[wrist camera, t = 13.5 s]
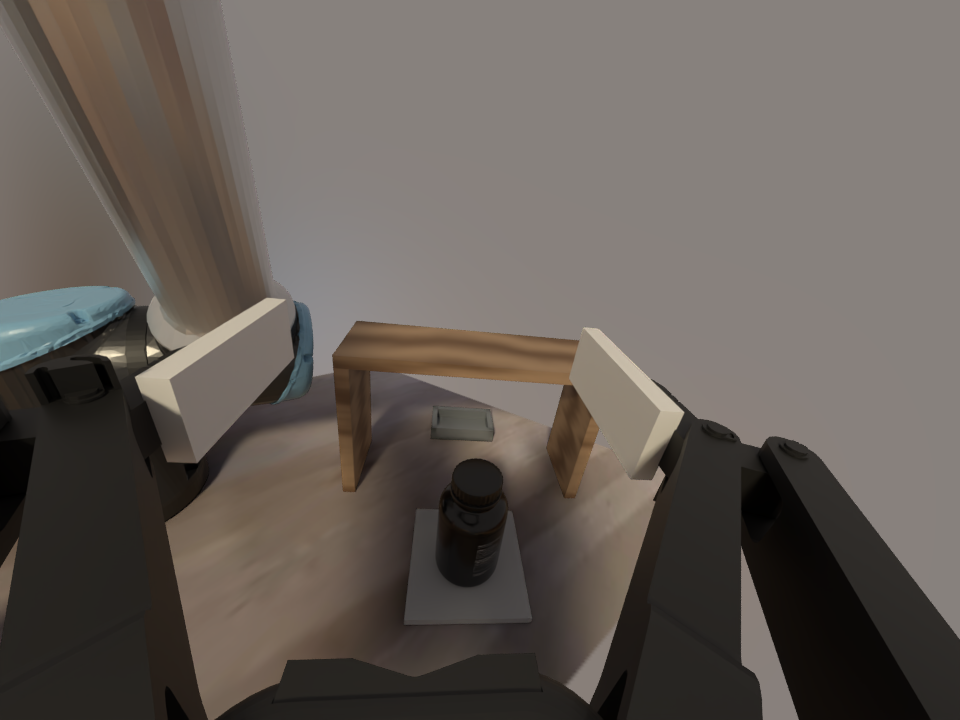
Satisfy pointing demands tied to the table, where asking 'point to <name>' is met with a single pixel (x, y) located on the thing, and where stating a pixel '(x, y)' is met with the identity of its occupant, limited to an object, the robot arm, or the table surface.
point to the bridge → (458, 358)
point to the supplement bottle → (471, 523)
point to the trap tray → (462, 424)
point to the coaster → (464, 605)
